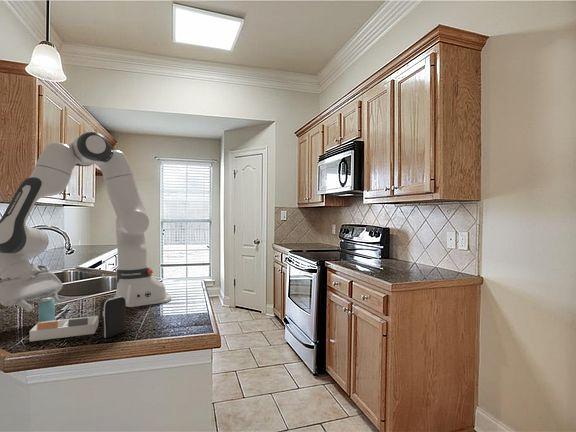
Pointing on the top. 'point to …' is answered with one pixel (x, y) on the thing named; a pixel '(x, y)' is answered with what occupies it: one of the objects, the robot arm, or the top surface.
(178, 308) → the top surface
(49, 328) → the dock
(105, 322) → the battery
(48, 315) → the light blue cylinder
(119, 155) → the robot arm
